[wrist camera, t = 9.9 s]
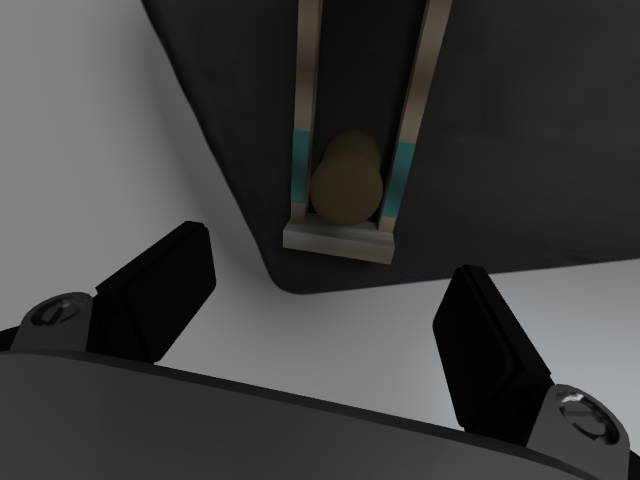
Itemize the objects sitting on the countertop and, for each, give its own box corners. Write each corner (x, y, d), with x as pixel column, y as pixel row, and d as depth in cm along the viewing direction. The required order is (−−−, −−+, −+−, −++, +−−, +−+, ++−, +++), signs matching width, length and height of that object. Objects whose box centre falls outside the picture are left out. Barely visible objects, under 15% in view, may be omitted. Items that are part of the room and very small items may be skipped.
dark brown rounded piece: (320, 186, 29) (297, 233, 19) (324, 126, 26) (300, 146, 16) (376, 193, 28) (381, 244, 18) (387, 132, 25) (400, 156, 15)
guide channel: (313, -200, 16) (295, -305, 12) (497, -199, 15) (547, -313, 11) (294, 225, 31) (282, 247, 27) (386, 240, 30) (390, 264, 26)
